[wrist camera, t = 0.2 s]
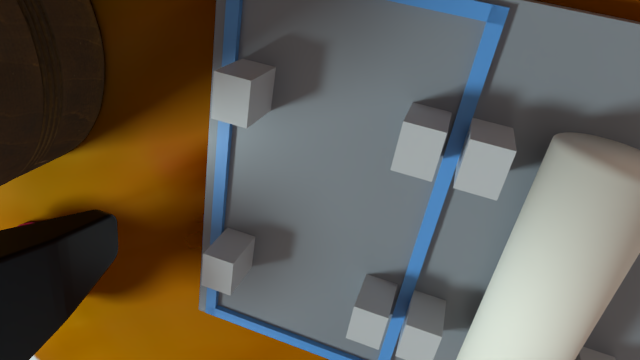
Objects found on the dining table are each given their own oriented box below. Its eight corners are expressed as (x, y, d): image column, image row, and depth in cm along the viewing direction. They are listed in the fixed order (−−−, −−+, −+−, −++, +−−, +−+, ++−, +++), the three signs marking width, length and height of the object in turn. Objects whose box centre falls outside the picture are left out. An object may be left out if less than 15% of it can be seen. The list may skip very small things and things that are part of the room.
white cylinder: (533, 372, 23) (545, 447, 20) (451, 345, 24) (448, 413, 20) (657, 150, 17) (704, 201, 14) (544, 123, 18) (562, 165, 15)
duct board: (581, 434, 25) (595, 504, 22) (208, 296, 29) (174, 339, 26) (839, 62, 16) (929, 90, 12) (233, -62, 20) (185, -64, 17)
